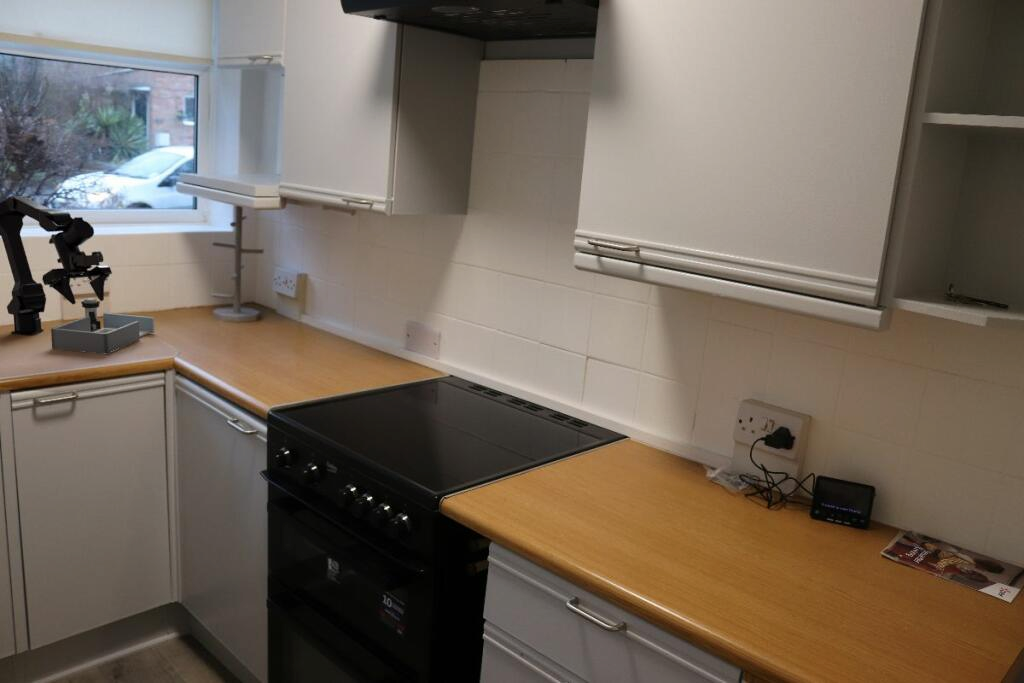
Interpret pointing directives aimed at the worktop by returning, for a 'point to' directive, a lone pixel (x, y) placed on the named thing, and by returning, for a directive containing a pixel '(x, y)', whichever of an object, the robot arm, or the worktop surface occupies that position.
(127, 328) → the dock
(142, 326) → the tray
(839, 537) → the worktop surface
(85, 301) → the push button
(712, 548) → the worktop surface
